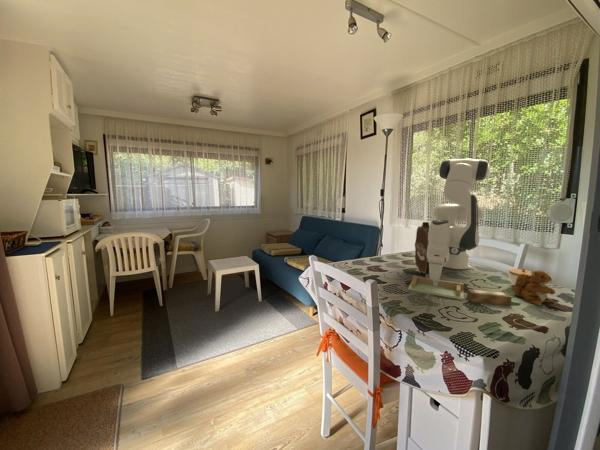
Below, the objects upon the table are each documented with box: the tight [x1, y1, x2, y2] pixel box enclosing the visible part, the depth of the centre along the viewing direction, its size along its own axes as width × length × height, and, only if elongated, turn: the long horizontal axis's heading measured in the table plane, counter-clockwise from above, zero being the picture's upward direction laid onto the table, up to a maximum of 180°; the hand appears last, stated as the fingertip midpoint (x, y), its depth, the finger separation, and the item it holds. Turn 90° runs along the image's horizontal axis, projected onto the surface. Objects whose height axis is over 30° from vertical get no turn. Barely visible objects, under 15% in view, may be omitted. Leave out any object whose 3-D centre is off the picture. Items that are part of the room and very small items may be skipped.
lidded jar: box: [508, 268, 532, 286], centre depth 121 cm, size 11×11×9 cm
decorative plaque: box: [414, 221, 430, 277], centre depth 137 cm, size 30×3×30 cm, turn 168°
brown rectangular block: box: [466, 288, 513, 306], centre depth 105 cm, size 14×5×4 cm, turn 73°
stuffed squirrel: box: [512, 270, 556, 307], centre depth 107 cm, size 10×14×13 cm
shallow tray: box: [407, 274, 465, 301], centre depth 117 cm, size 11×22×5 cm, turn 57°
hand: (435, 284), depth 115 cm, fingers closed
